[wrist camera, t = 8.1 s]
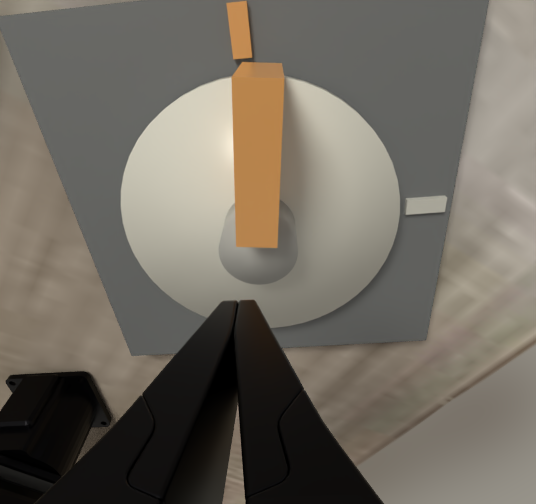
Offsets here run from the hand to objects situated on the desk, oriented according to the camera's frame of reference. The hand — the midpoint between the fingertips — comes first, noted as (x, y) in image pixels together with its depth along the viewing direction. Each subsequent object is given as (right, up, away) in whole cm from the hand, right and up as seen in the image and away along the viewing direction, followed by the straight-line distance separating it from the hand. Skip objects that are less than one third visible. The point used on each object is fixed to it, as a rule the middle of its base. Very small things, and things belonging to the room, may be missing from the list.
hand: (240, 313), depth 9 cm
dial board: (0, +4, +12) cm, 13 cm away
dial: (0, +4, +10) cm, 11 cm away
